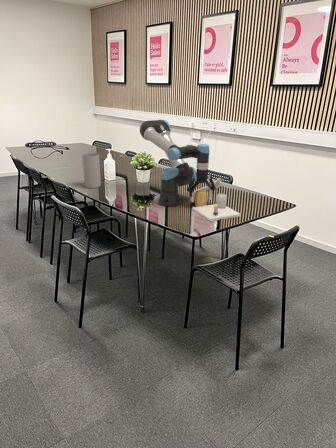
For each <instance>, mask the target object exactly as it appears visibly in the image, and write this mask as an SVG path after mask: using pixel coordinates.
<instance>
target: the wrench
mask: <svg viewBox="0 0 336 448" xmlns="http://www.w3.org/2000/svg"><path fill="white" fill-rule="evenodd" d="M221 181H224V180H223V178H222V177H218V178H216V180H215V181H213V182H214V185H215V187H216V188H215V189H214V190H218V189H219V188H221V186H222V184H220V182H221ZM209 184H210V185H211V183H209ZM209 189H210V188H209V187H208V186H207V185H206V186H203V187H201V188H198V189H194V191H193V192H194V195H195V194H196V190H205V191H209Z"/></svg>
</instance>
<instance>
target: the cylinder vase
mask: <svg viewBox="0 0 336 448" xmlns="http://www.w3.org/2000/svg"><path fill="white" fill-rule="evenodd" d="M81 158H82V169H83V179H84V187H85V188H87V189H98V188H100V187H101V186H102V180H101V179H102V178H101V166H100V165H101V164H100V163H101V162H100V153H96V152H94V153H93V152H86V153H82V155H81Z"/></svg>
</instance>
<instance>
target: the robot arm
mask: <svg viewBox="0 0 336 448" xmlns="http://www.w3.org/2000/svg"><path fill="white" fill-rule="evenodd" d="M171 128H172V127H171V125H170V123H169V122H168V121H167V120H166V119H152V120H146V121H144V122H142V123H141V124H140V126H139V134H140V136H141V137H142V138H143V139H145V140H146V141H149V142H151V143H152V144H153V145H155V146H156V147H158V148H160V149H161V150H162V151H163V152H164V153H165V155H166V157H167V159H168V161H169V162H170V164H171V167H166V168H163V169H162V170H161V172H160V184H161V185H160V194H159V197H158V205H161V206H162V207H163V206H164V207H177V206H179V205H181V201H182V200H181V197H180V193H179V187H183V186H188V187H187V189H186V191H187V192H189V197H190V199H189V202H192V203H194V196H195V194H194V191H195V190H196V188H197V187H198V186H199V184H206V186H208V187H209V188H210V189H209V190H208V193H207V196H208V198H207V200H212V195H213V193H214V192H213V191H214V190H216V189H215V188H216V187H215V185H214V182H215V181H214V180H213V176H212V175H210V174H209V162H210V160H209V159H210V144H208V143H198V145H197V146H196V145H193V144H186V145H185V146H178V145H177V144H175V143H174V141H173V139H172V138H171ZM191 158H194V159H196V168H195V167H193V166H190V165H189V164H188V162H187V161H184V160H185V159H191ZM208 180H209V181H208ZM210 184H211V185H210Z"/></svg>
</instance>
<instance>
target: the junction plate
mask: <svg viewBox="0 0 336 448" xmlns="http://www.w3.org/2000/svg"><path fill="white" fill-rule="evenodd" d="M227 196H228V195H227V194H224V193H218V194H217V195H216V203H215V204H209V205H208V204H206V206H200V207H196V206H193V207H192V208H191V210H192V211H194V212H195V213H197V214H198V215H199V216H201V217H202V216H203V217H202V218H204V219H205V218H206V219H205V220H207V221H208V220H209V222H214V221H213V220H215V221H220V219H221V220H226V219H232V218H239V217H241V216H242V214H241V213H240V212H238V211H236V210H234V209H233V208H231V207H229V206H227Z"/></svg>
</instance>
